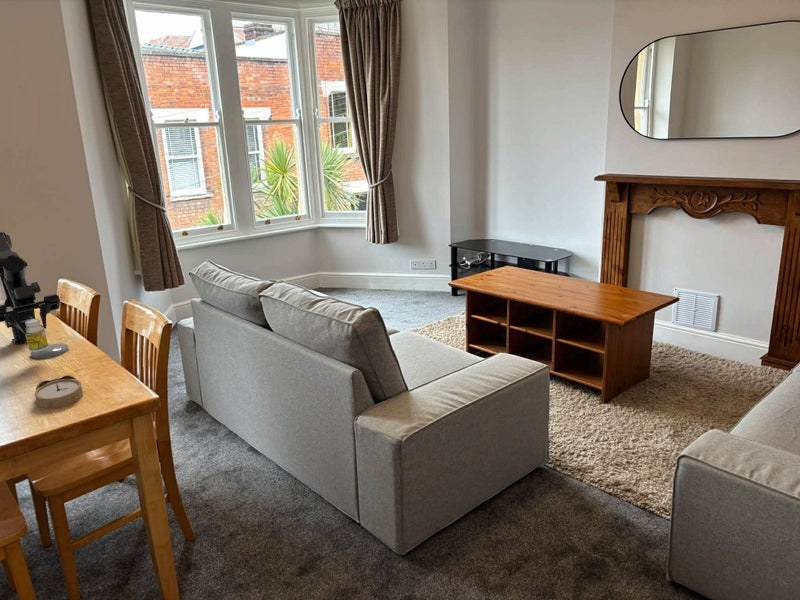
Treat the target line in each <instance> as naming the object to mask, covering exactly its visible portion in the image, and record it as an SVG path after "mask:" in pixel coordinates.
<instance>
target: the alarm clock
mask: <svg viewBox="0 0 800 600" xmlns="http://www.w3.org/2000/svg"><path fill="white" fill-rule="evenodd" d="M83 396H84V391H83V387H82V382H81V381H80V380H78V379H77V377H75V376H73V375H72V374H66V375H63V376H61V377H57V378H53V379H50V380H47V379H44V380H42V381H39V383H37V385H36V388H35V391H34V397H35V400H36V405H37V407H38V408H41V409H43V410H44V409H45V410H46V409H47V410H48V409H49V410H50V409H51V410H52V409H57V408H62V407H66V406H69V405H72V404H74V403H76V402H78V401H79V400H81V399H82V398H83ZM81 397H82V398H81ZM80 398H81V399H80ZM77 400H78V401H77ZM73 402H74V403H73ZM71 403H72V404H71Z"/></svg>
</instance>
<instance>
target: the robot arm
mask: <svg viewBox="0 0 800 600" xmlns="http://www.w3.org/2000/svg"><path fill="white" fill-rule="evenodd" d="M12 248H13V243H12V239H11V236H10V235H9V234H6V232H5V231H4V232H3V231H0V283H1V286H2V288H3V289H2V290H3V292H4V296H5V300H4V304H2V305H0V323H3V322H4V324H5V326H6V329H9V328H11V332H12V336H13V338H12V339H11V341H12V342H13V343H14V345H21V344H25V343H27V339H26V335H25V334H26V331H25V328H26V326H25V321H27V320H30V319H37V318H36V314H35V310H36V309H39V318H40V320H41V325H42V326H43V327H44V330H46V329H47V315H48V314H50V313H51V311H52V312H53V311H56V310H58V309H60V306H61V299H60V296H59V295H58V294H56V293H53V294H49V295H48V294H47V295H44V296H43V300H41V301H37V302H36V299H37V298H36V296H35V295H36V294H39V293H41V288H40V284H39V282H38V281H36V282H35V281H34V282H31V283H30V285H29V284H28V282H27V279H26V275H27V274H26V269H27V267H28V262H27V261H26V260H24V259H23V258H22V257H21V256H20V255H19V253H18V252H16V251H12ZM24 342H25V343H24ZM20 343H21V344H20Z"/></svg>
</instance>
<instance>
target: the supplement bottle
mask: <svg viewBox="0 0 800 600" xmlns="http://www.w3.org/2000/svg"><path fill="white" fill-rule="evenodd" d="M40 320H41V319H39V318H36V319H30V320H27V321H25V326H26V328H25V331H26V334H25V335H26V339H27V342H26V343H27V346H28V351H30V353H31V352H39V351H43V350H45V349H47V348H48V345H49V343H48V339H47V335H46V334H47V333H46V329H45V328H44V326H43V324H41V321H40Z"/></svg>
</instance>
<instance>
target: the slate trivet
mask: <svg viewBox="0 0 800 600" xmlns="http://www.w3.org/2000/svg"><path fill="white" fill-rule="evenodd" d="M69 350H70V347H69V344H66V343H51V344H48V348H47V349H45V350H43V351H39V352H31V351H30V355H31V358H32V359H35V360H42V359H50V358H54V357H58V356H61V355H63V354H66V353H68V351H69Z"/></svg>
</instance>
